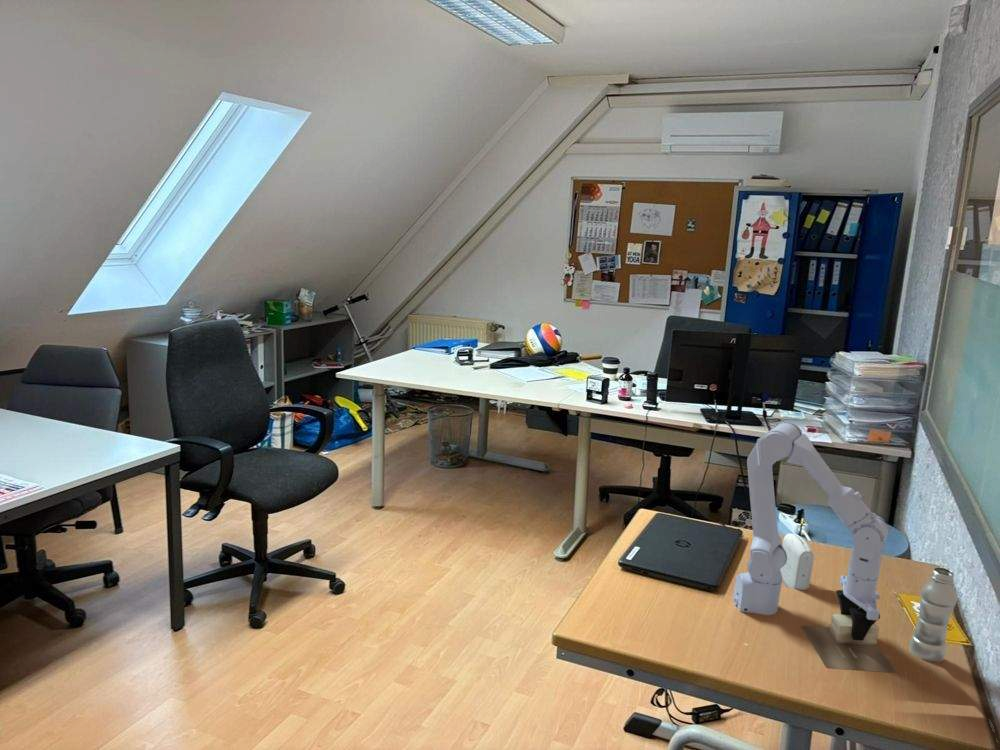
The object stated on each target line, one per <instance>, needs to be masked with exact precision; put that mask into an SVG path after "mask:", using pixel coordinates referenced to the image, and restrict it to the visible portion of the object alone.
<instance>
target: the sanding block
mask: <svg viewBox="0 0 1000 750" xmlns="http://www.w3.org/2000/svg"><path fill="white" fill-rule="evenodd" d="M829 627H830V629H829V631H830V632H831V634H832V635H833V637H834V638H835V640H836V641H837V643H850V644H863V645H876V644H877V643H878V638H879V631H880V628H879V626H878V625H877V624H876V622H875V623H874V624H873V625H872V626H871V628H870V629H869V631H868V632H867V634H866V636H865V638H864V640H863V641H861V640H853V639H852V617H851V615H841V613H840V614H839V613H832V614H831V619H830V625H829Z"/></svg>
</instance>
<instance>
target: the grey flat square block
mask: <svg viewBox="0 0 1000 750" xmlns="http://www.w3.org/2000/svg"><path fill="white" fill-rule="evenodd" d="M800 627H801V629H802V630H803V632H804V634H805V636H806V637H807V639H808V640H809V642H810V644H811V645H812V647H813V649H814V650H815V652H816V654H818V657H819V658H820V660H821V661H822V663H823V665H824V666H825V668H826V669H834V670H848V671H850V670H851V671H860V672H861V671H862V672H875V673H888V674H889V673H892V674H899V672H898V671H897V669H896V668H895V667H894V666H893V664H892V663H891V661H890V660H889V659H888V658H887V656H886V655H885V653H884V652H883V651H882V650H881V648H880V647H879V645H877V643H876V645H863V644H850V643H837V641H836V640H835V638H834V637H833V635H832V634H831V632H830V631H829V629H830V626H829V627H828V626H815V625H814V626H813V625H800Z"/></svg>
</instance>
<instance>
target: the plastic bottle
mask: <svg viewBox="0 0 1000 750" xmlns="http://www.w3.org/2000/svg"><path fill="white" fill-rule="evenodd" d="M954 574H955V573H954V572H953V571H952V570H950V569H948V568H945V567H940V566H939V567H938V566H937V567H934V568H933V570H932V573H931V575H930V576H931V579H930V580H929V581H928V582H927V583H925V584H924V585H923V587H922V588H921V590H920V602H919V612H918V617H917V622H916V626H915V628H914V632H913V633H912V636H911V638H910V640H909V651H910V652H911V653H912V654H913V655H914V656H916V657H917V658H918V659H921V660H924V661H928V662H934V663H935V662H938V663H941V662H942V661H943V659H944V657H945V656H946V649H947V648H946V644H947V643H946V639H947V632H948V626H949V623H950V620H951V616H952V614H953V611H954V609H955V606H956V605H957V602H958V598H957V596H958V595H957V593H956V591H955V589H954V587H953V585H952V584H953V582H954V577H955V575H954Z"/></svg>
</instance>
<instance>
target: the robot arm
mask: <svg viewBox="0 0 1000 750" xmlns="http://www.w3.org/2000/svg"><path fill="white" fill-rule="evenodd" d="M787 457H788V459H787V460H786V463H788V464H793V465H797V466H802V468H804V469H805V470H806V471H807V472H808V474H809V475H810V476H811V477H812V478H813V479H814V481H815V482H816V483H817V484H818V485H819V486H820V488H822V489H823V491H824V492H825V493H826V494H827V495H828V501H827V503H828V506H830V508H831V509H832V510H833V512H834V513H835V514H836V516H838V519H840V520H841V522H843V524H844V525H845V526H846V528H847V529H848V530H849V531H851V540H852V543H853V546H852V549H851V551H850V552H851V553H850V556H849V563H848V568H847V569H848V570H847V574H846V575H840V579H839V584H840V586H842V589H837V590H836V591H835V594H836V596H837V601H838V604H839V608H840V609H839V610H840V615H851V617H852V639H853V640H861V641H863V640H864V638H865V636H866V634H867V632H868V631H869V629H870V628H871V626H872V625H873V624H874V623H875V624H876V622H877V621H879V620H880V618H881V614H880V610H879V609H878V604H877V600H880V598H881V595H880V594H879V593H878V592H877V591H876V590H877V587H878V586H877V585H878V581H879V580H878V579H879V574H880V570H881V565H882V561H883V556H882V554H883V552H884V549H883V548H884V545H885V541H886V539H887V538H888V537H887V536H888V535H889V528H888V525H887V524H886V522H885V520H884V518H882V517H880V516H878V515H877V514H876V513H875V512H873V511H871V509H870V508H869V507H868V506H867V505H866V504H865V503H864V501H863V499H862V497H863V495H862V494H861V493H860V492H859V491H855V490H854V489H853V487H848V486H846V485H845V486H844V485H843V484H842V483H841V482H840V480H839V479H838V478H837V476H836V475H835V474H834V473H833V471H832V470H831V468H830V467H829V465H827V463H826V461H825V460H824V459H823V457H822V456H821V455H820V454H819V452H818V451H817V449H816V448H815V446H814V445H813V443H812V441H811V440H810V438H809V437H808V435H806V433H803V432H802V430H801V429H800V427H799V426H798V425H797V424H796V423H794V422H791V421H781V422H780V423H778V424H776V425H775V426H773V427H772V428H771V429H770V430H768V431H767V432H766V433H764V434H763V435H762V436H761V437H759V438H757V440H756V443H755V444H754V447H753V448H752V450H751V452H750V453H749V455H748V457H747V460H746V466H747V476H748V477H747V478H748V489H749V490H748V491H749V501H750V511H751V522H752V523H751V524H752V525H751V526H752V535H753V536H752V542H751V546H750V547H749V548H750V549H749V553H750V554H749V555H750V556H749V557H750V558H749V559H748V561H747V564H746V565H747V567H746V568H747V572H745V573H744V572H743V573H737V575H736V576H735V581H734V582H735V583H734V589H733V596H732V598H733V602H734V603H733V604H734V605H735V606H737V607H736V608H738V611H739V612H741V613H751V614H757V615H758V614H759V615H763V616H772V615H775V614H776V613H777V612H778V610H779V602H780V596H781V591H782V583H783V580H782V574H781V570H780V569H781V568H782V567H783V566H784V565H785V564H786V562H787V553H786V551H785V549H784V548H783V546H782V545H783V540H782V539H783V538H782V537H781V536H780V535H779V534H778V522H777V509H776V508H777V507H776V496H775V486H774V484H775V483H774V474H773V473H774V471H773V465H774V464H775V463H777V462H778V461H780V460H781V461H782V460H783V459H785V458H787Z"/></svg>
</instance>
